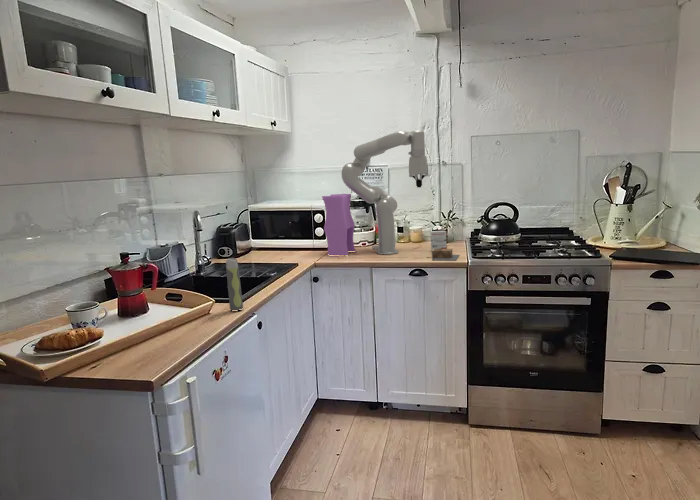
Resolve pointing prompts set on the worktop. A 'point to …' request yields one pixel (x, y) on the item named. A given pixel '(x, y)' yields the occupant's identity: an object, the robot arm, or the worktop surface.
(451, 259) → the mat
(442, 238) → the ink box
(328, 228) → the container
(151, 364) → the worktop surface
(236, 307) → the grey green tall block
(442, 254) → the walnut block
